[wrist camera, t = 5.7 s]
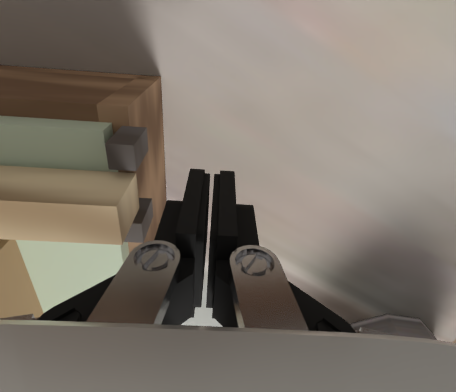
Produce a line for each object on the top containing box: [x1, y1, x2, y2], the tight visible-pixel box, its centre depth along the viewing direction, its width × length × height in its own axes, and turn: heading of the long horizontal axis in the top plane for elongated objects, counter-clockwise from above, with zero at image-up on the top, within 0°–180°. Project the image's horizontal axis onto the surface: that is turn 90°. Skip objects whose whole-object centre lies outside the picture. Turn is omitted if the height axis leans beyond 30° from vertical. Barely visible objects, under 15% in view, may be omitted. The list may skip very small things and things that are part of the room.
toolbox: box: [0, 65, 166, 254], centre depth 18 cm, size 18×14×9 cm
